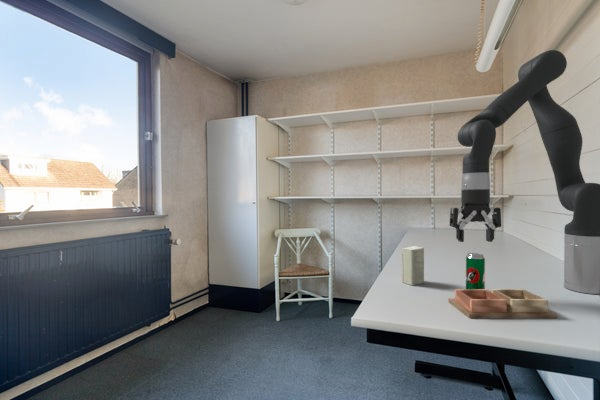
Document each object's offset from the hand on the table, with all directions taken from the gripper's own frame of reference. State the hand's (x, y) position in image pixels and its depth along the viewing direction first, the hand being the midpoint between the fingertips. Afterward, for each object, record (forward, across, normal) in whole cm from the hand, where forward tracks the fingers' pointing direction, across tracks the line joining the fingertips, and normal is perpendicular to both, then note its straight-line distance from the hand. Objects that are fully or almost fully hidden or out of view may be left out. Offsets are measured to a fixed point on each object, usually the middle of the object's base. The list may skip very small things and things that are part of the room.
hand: (474, 241), depth 93 cm
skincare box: (+16, +15, -11) cm, 25 cm away
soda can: (+16, 0, 0) cm, 16 cm away
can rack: (+16, +1, +13) cm, 21 cm away
